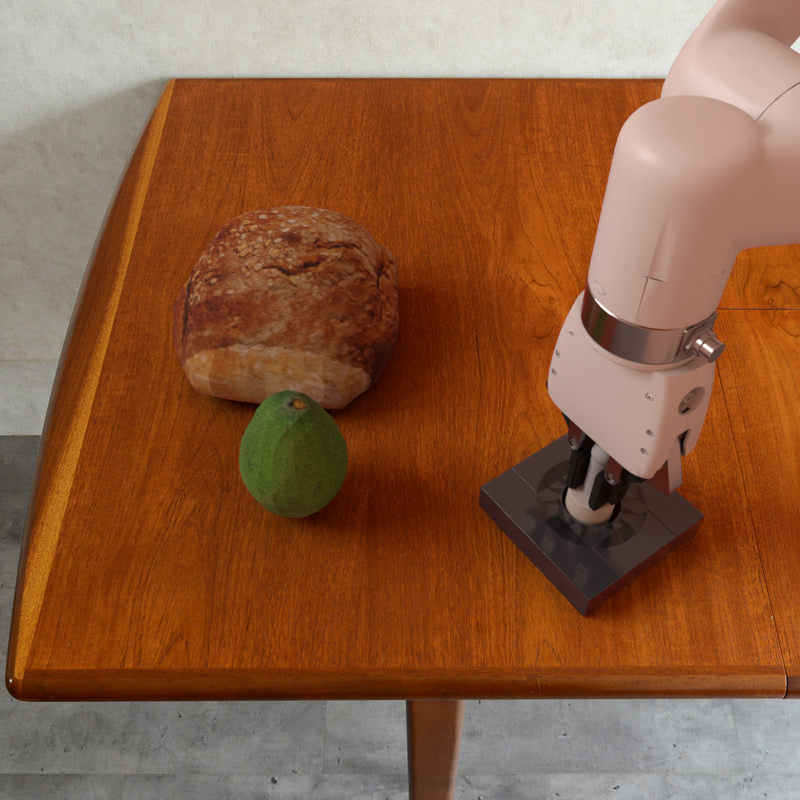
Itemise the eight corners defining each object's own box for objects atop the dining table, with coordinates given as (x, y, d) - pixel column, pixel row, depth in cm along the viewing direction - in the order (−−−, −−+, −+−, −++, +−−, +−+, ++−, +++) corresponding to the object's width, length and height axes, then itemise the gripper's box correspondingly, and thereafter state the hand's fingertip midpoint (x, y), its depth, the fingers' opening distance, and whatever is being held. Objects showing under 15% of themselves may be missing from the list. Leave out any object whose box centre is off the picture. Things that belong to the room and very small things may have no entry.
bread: (404, 283, 88) (404, 199, 80) (391, 427, 76) (390, 344, 68) (198, 274, 89) (179, 190, 81) (153, 415, 77) (126, 332, 69)
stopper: (587, 485, 71) (606, 417, 64) (620, 516, 69) (643, 449, 62) (553, 507, 69) (569, 440, 63) (586, 539, 67) (606, 473, 61)
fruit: (293, 441, 75) (279, 340, 66) (369, 486, 72) (365, 387, 63) (228, 506, 71) (203, 408, 61) (305, 557, 68) (291, 462, 58)
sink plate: (588, 435, 75) (593, 416, 73) (697, 533, 69) (705, 515, 67) (477, 505, 71) (480, 486, 69) (583, 617, 64) (589, 600, 62)
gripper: (796, 359, 50) (709, 536, 64) (598, 217, 58) (559, 401, 72) (706, 420, 47) (635, 592, 61) (510, 261, 55) (487, 444, 69)
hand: (594, 487), depth 67 cm, fingers closed on stopper
